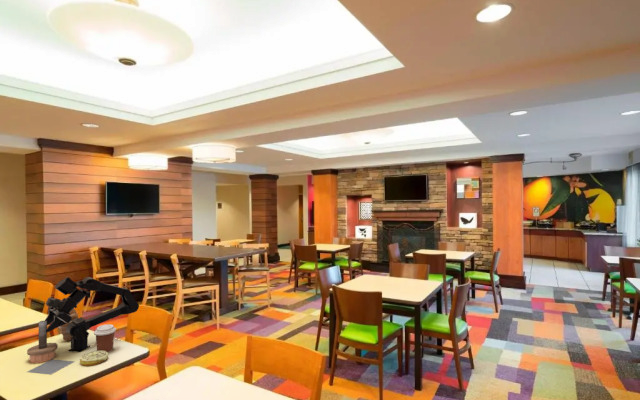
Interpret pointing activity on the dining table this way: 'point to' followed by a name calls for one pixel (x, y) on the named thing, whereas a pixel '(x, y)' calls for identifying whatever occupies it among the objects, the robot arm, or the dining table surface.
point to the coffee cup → (105, 337)
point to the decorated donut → (93, 358)
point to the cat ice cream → (63, 328)
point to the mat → (50, 366)
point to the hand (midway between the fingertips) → (44, 329)
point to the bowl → (42, 357)
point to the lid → (42, 342)
